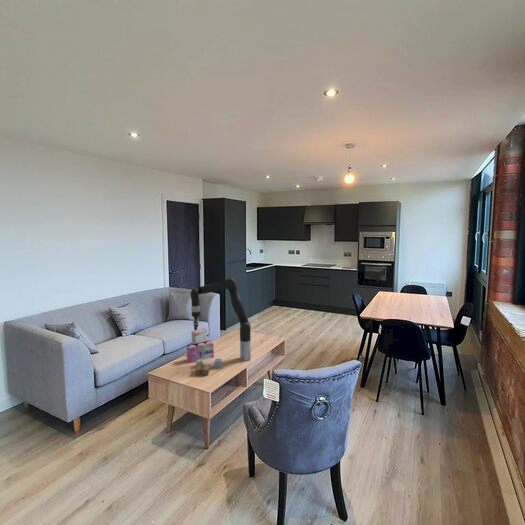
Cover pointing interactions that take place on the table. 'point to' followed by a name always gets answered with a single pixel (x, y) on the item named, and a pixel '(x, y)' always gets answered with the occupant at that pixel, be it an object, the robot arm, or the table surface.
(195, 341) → the cracker box
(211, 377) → the table surface
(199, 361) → the sage cube
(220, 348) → the table surface
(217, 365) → the blue block
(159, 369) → the table surface
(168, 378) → the table surface
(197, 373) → the walnut block
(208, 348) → the gum box
